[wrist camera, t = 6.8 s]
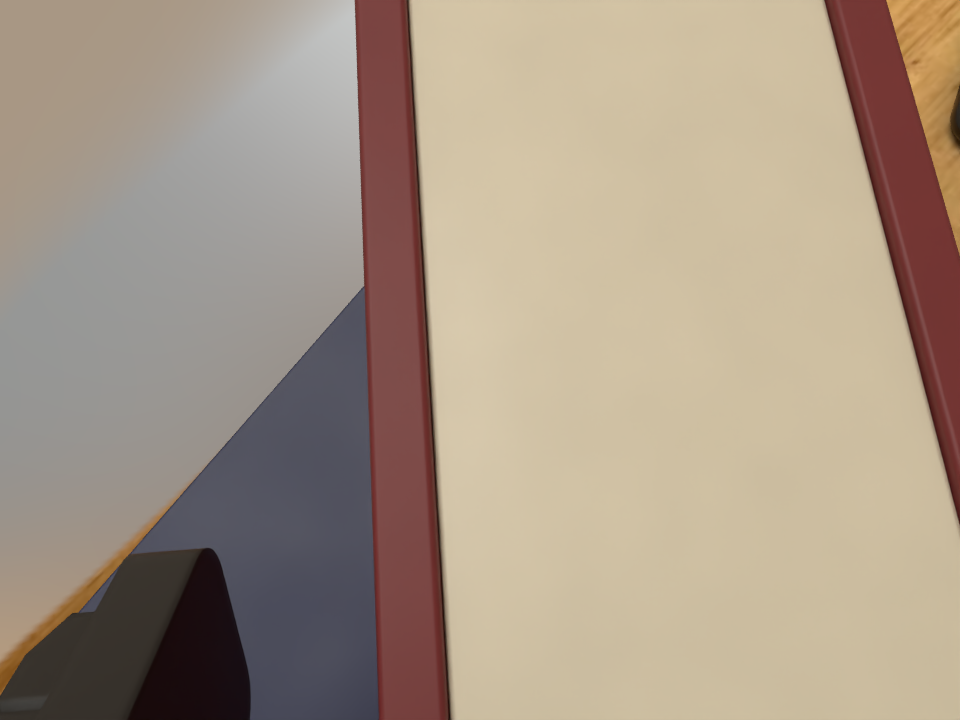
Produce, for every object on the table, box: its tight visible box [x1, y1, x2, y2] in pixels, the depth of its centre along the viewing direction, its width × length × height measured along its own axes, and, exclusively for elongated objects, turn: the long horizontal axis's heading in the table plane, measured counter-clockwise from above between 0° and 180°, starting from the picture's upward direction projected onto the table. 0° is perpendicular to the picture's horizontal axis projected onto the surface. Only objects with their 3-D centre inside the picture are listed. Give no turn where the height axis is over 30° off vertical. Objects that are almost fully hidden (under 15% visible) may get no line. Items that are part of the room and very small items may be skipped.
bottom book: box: [79, 287, 379, 720], centre depth 16 cm, size 15×11×4 cm
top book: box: [355, 0, 960, 720], centre depth 10 cm, size 12×4×9 cm, turn 4°
